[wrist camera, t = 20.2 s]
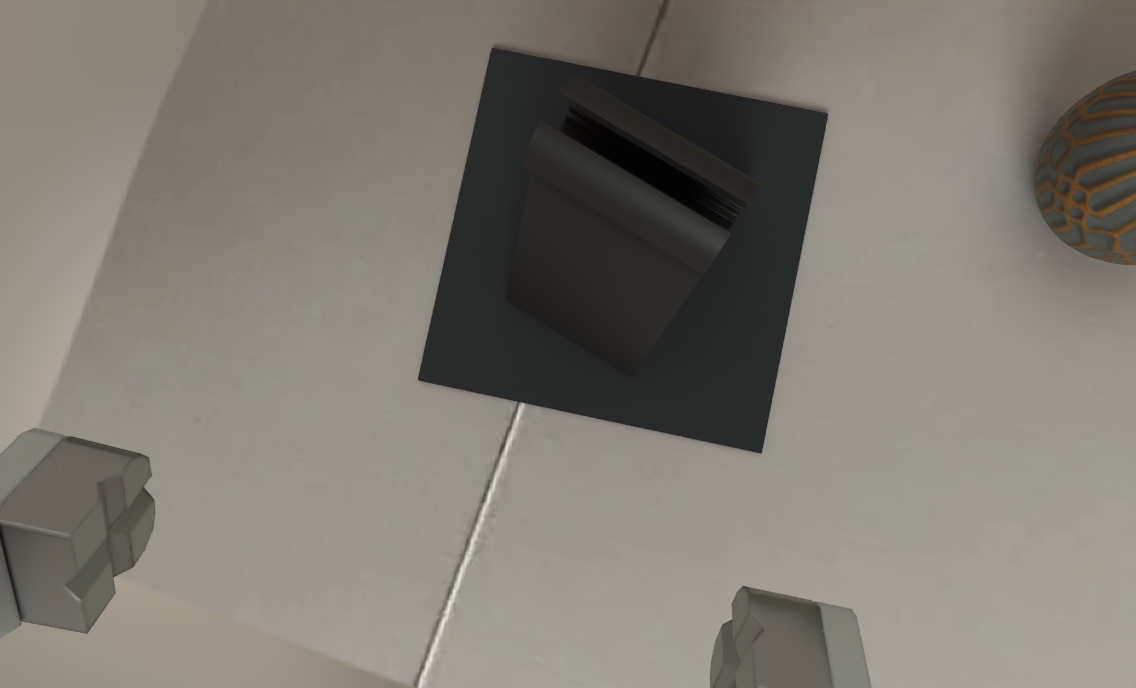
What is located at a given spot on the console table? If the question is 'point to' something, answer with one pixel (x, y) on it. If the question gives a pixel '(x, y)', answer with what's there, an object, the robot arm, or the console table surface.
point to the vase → (1093, 174)
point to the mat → (708, 315)
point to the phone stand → (618, 225)
